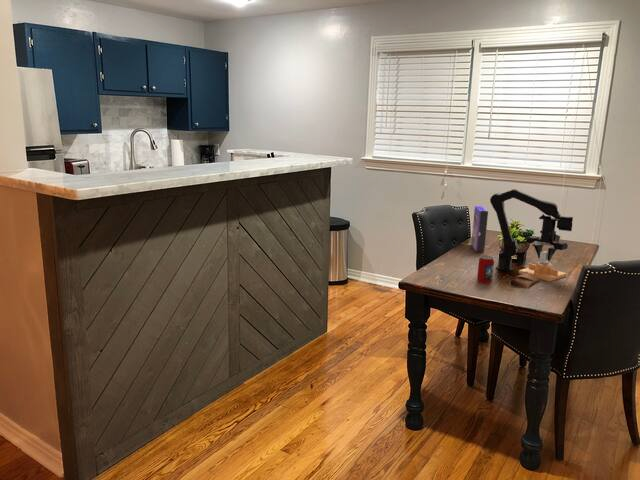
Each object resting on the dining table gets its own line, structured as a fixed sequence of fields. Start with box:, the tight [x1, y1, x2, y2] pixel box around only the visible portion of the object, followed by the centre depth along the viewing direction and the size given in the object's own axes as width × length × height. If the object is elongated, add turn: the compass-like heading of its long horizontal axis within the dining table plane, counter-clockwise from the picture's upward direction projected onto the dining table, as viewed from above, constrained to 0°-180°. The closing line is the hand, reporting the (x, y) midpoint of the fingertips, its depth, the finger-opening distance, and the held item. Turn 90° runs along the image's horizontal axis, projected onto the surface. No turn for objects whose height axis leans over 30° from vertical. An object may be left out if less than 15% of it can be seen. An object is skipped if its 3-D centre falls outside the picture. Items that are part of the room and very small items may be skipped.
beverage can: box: [476, 255, 495, 285], centre depth 238 cm, size 7×7×12 cm
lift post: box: [538, 250, 550, 264], centre depth 253 cm, size 3×3×10 cm
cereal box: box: [470, 205, 489, 252], centre depth 303 cm, size 17×5×24 cm, turn 172°
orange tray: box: [518, 261, 568, 282], centre depth 254 cm, size 16×16×6 cm
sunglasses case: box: [510, 271, 541, 290], centre depth 240 cm, size 18×7×7 cm, turn 140°
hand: (544, 259), depth 253 cm, fingers open, 4 cm apart
